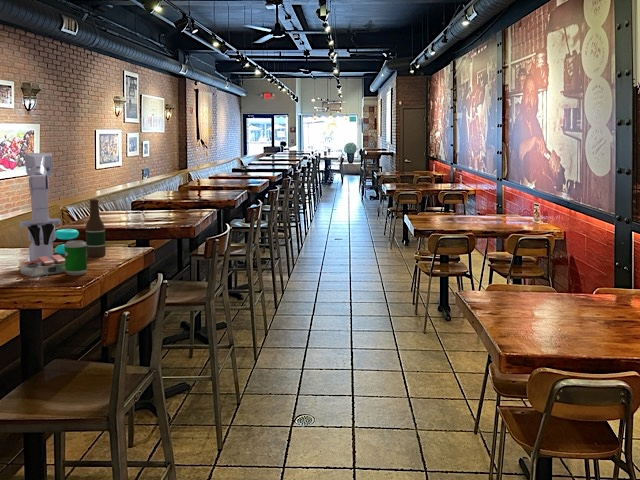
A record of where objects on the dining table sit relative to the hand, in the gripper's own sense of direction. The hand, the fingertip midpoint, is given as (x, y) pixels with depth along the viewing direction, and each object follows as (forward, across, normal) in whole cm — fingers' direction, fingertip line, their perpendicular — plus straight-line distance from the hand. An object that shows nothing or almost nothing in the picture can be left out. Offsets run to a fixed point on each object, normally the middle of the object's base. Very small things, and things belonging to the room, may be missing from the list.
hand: (41, 245), depth 240 cm
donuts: (+11, +28, +35) cm, 46 cm away
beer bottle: (+11, +33, +20) cm, 40 cm away
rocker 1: (+6, -4, 0) cm, 7 cm away
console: (+10, +2, 0) cm, 11 cm away
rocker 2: (+6, +2, 0) cm, 6 cm away
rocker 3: (+6, +6, 0) cm, 9 cm away
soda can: (+11, +8, -10) cm, 16 cm away
